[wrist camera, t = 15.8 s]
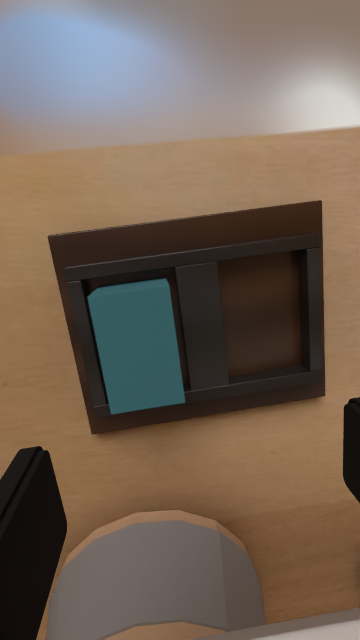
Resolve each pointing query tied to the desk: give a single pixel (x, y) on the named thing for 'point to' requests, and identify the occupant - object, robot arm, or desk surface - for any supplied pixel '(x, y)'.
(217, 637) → the robot arm
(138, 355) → the teal pad
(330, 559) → the desk surface
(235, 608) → the desk lamp
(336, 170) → the desk surface
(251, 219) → the back plate
